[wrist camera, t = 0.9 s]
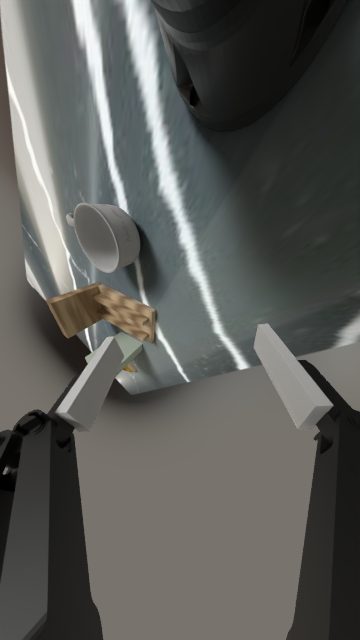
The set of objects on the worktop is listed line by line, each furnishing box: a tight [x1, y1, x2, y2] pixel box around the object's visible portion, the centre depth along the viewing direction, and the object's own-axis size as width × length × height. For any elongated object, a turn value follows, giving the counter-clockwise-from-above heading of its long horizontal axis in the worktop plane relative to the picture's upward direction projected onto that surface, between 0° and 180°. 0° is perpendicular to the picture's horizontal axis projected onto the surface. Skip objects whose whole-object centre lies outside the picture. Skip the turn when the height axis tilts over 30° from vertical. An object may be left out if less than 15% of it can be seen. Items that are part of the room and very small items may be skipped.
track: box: [46, 282, 156, 343], centre depth 40 cm, size 22×12×14 cm, turn 80°
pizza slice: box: [123, 362, 137, 372], centre depth 69 cm, size 16×21×3 cm
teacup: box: [66, 203, 140, 273], centre depth 28 cm, size 14×11×8 cm
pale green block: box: [85, 332, 143, 377], centre depth 48 cm, size 10×4×14 cm, turn 80°
